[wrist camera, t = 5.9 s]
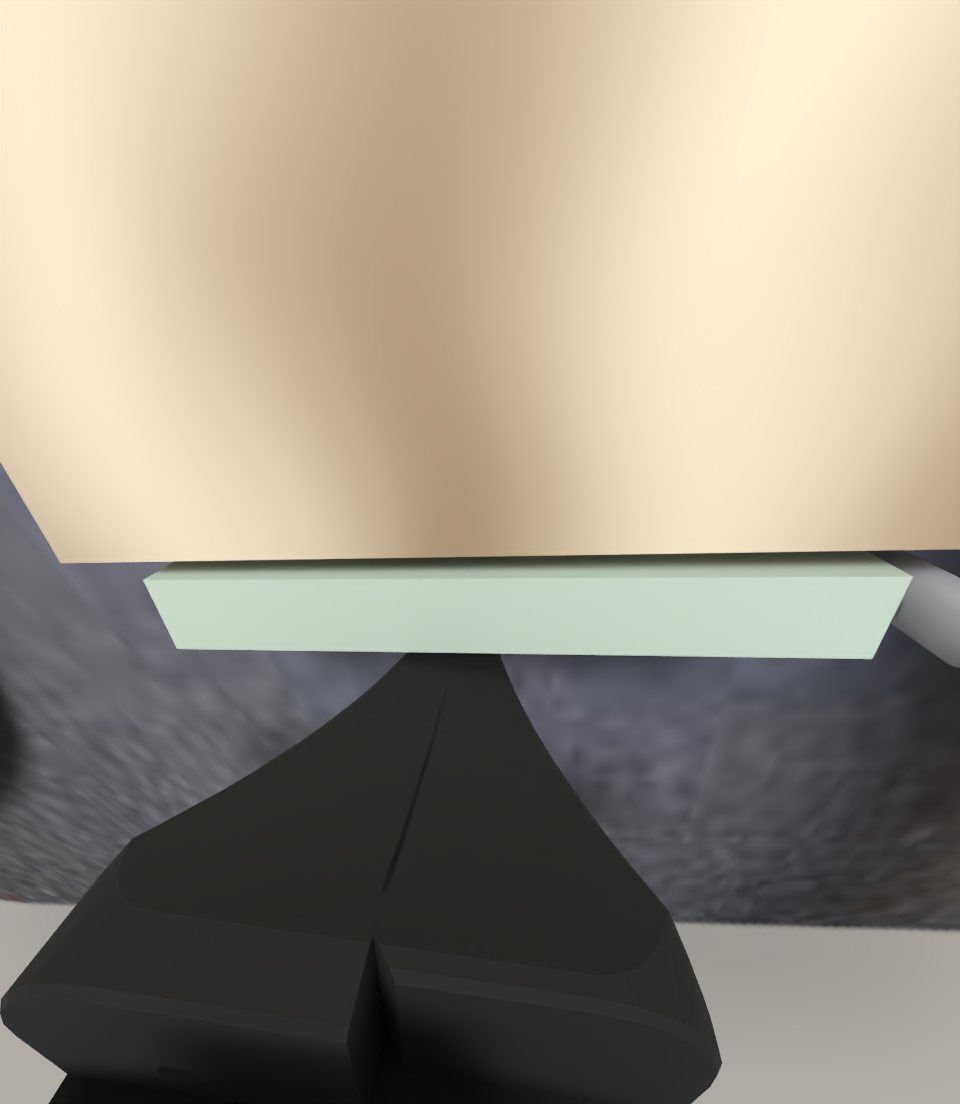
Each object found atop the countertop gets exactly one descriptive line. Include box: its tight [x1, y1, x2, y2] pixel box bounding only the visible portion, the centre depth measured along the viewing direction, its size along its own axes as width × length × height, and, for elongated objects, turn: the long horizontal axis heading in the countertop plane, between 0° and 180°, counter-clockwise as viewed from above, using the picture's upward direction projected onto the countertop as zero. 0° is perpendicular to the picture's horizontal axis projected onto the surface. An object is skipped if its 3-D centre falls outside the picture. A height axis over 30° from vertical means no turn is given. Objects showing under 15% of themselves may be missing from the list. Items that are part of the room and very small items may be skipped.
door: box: [143, 550, 960, 668], centre depth 8 cm, size 12×3×6 cm, turn 93°
